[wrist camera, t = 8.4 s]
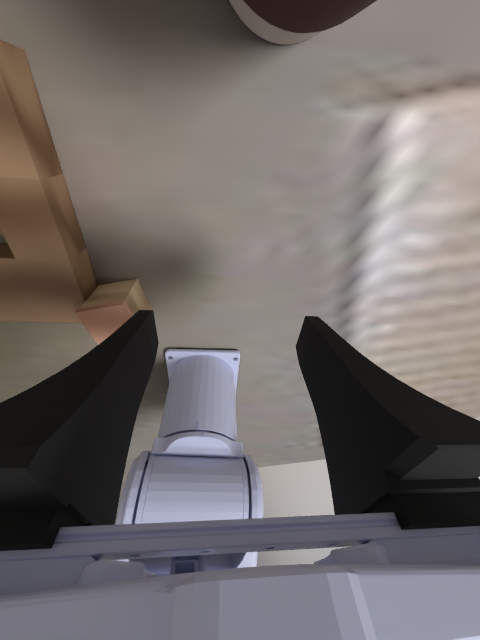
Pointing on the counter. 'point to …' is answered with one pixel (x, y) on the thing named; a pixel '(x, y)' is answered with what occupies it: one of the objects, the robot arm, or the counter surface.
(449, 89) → the counter surface
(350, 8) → the coffee cup
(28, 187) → the hole board
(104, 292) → the tan cubic piece
